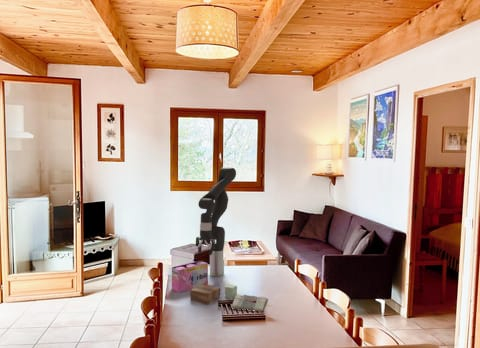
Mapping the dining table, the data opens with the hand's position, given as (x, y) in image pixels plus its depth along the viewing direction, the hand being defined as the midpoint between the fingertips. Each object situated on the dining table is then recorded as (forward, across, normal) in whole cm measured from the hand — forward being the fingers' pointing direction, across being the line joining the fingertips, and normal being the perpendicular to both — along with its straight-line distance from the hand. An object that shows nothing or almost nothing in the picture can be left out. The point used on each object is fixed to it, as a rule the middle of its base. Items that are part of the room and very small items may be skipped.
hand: (205, 254), depth 242 cm
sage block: (+18, -30, +14) cm, 38 cm away
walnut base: (+18, -20, +25) cm, 37 cm away
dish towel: (+19, -45, +18) cm, 52 cm away
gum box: (+18, 0, +14) cm, 23 cm away
